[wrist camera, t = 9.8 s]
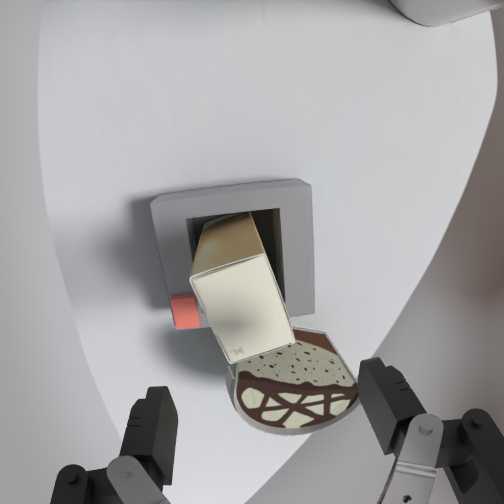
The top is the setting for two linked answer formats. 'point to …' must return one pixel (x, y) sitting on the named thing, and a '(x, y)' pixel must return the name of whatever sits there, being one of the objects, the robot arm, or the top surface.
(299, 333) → the food container
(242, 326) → the skincare box
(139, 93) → the top surface
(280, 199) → the socket block
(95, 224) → the top surface
